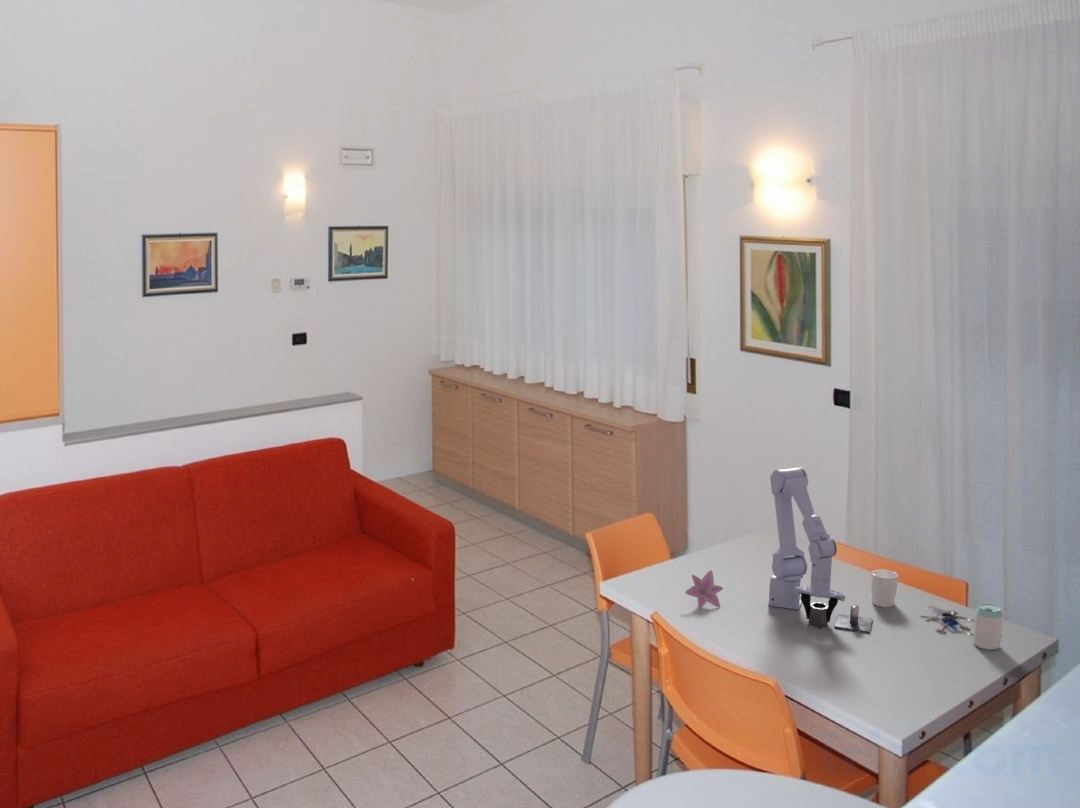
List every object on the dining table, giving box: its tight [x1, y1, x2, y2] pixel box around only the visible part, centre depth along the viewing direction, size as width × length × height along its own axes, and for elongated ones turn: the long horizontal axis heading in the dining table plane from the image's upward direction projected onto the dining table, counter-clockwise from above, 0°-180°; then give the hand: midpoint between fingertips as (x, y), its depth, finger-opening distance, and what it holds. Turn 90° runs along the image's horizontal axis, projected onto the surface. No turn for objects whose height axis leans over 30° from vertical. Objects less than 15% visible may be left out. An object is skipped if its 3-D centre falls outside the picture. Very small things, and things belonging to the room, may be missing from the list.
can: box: [972, 603, 1004, 651], centre depth 290 cm, size 7×7×12 cm
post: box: [834, 604, 873, 634], centre depth 306 cm, size 10×10×6 cm
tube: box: [808, 601, 829, 629], centre depth 306 cm, size 5×5×6 cm
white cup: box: [871, 568, 899, 608], centre depth 321 cm, size 8×8×10 cm
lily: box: [684, 569, 724, 609], centre depth 321 cm, size 12×12×10 cm
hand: (818, 619), depth 306 cm, fingers closed on tube, 5 cm apart
